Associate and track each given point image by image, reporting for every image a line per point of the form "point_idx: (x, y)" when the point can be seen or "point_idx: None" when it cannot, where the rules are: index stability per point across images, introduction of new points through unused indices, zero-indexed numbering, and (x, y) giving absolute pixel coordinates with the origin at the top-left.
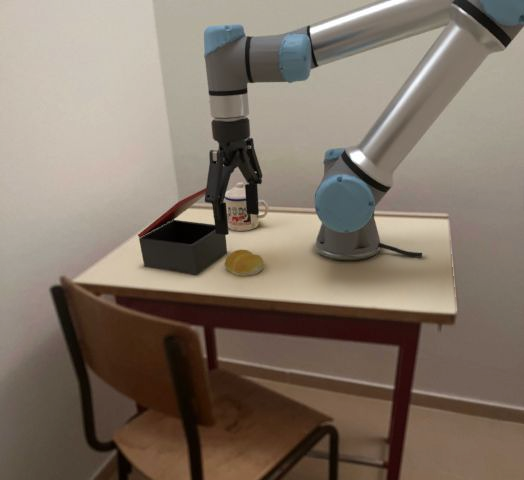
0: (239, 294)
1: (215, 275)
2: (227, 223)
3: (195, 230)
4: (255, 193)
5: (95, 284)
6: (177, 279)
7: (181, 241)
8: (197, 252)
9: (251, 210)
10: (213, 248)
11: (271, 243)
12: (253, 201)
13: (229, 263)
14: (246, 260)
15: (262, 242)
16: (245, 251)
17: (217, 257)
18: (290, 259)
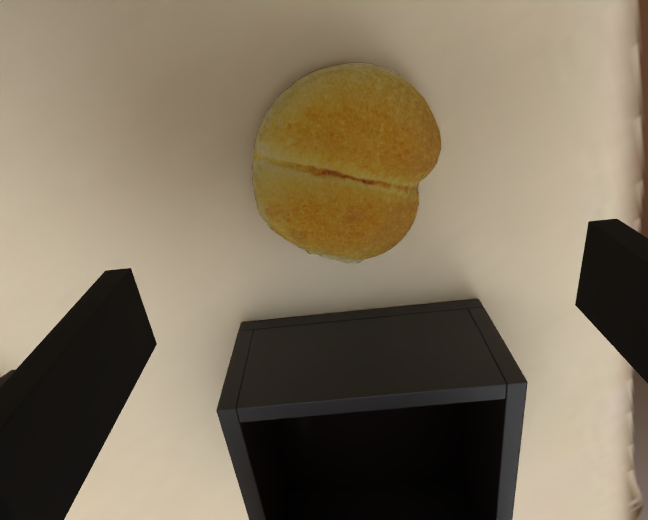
0: (607, 12)
1: (453, 235)
2: (644, 257)
3: (269, 490)
4: (40, 390)
5: (632, 498)
6: (533, 333)
7: (287, 491)
8: (479, 355)
9: (133, 327)
10: (341, 349)
11: (33, 222)
12: (92, 356)
13: (413, 213)
14: (405, 127)
15: (53, 264)
16: (313, 197)
17: (317, 320)
18: (126, 12)
